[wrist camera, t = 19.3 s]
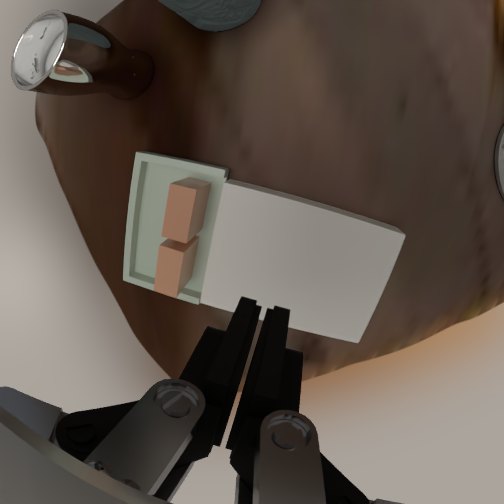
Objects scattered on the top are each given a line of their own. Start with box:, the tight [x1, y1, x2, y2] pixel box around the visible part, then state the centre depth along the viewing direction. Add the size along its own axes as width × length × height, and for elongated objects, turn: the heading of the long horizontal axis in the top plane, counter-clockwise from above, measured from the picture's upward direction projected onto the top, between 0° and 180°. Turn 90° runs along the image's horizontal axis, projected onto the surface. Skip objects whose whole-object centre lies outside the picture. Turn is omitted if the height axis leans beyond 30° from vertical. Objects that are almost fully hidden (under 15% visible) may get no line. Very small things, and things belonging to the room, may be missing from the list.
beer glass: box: [11, 10, 154, 100], centre depth 20 cm, size 7×7×15 cm
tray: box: [123, 151, 230, 305], centre depth 31 cm, size 10×15×2 cm, turn 166°
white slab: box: [200, 179, 406, 343], centre depth 30 cm, size 18×13×3 cm
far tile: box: [154, 235, 200, 298], centre depth 30 cm, size 5×5×2 cm
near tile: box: [162, 177, 212, 243], centre depth 28 cm, size 5×5×2 cm
